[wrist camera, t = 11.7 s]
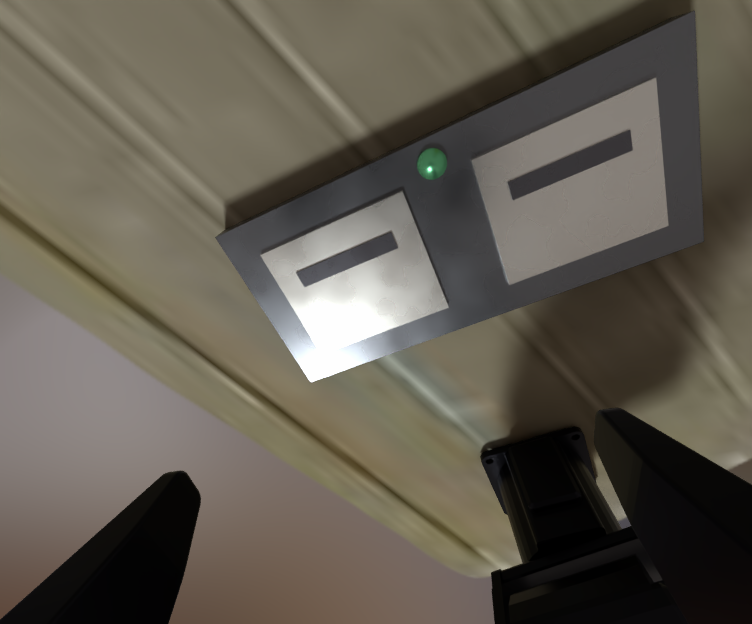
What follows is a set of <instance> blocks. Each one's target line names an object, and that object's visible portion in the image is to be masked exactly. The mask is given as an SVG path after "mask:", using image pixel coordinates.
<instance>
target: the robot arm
mask: <svg viewBox="0 0 752 624" xmlns="http://www.w3.org/2000/svg"><path fill="white" fill-rule="evenodd" d="M594 443H595V447H596V450H597V452H598V455H599V457H600V459H601V461H602V463H603V466H604V468H605V470H606V472H607V474H608V477H609V479H610V481H611V483H612V485H613V487H614V490H615V492H616V494H617V496H618V498H619V501H620V503H621V505H622V507H623V509H624V511H625V514H626V516H627V518H628V520H629V522H630V524H631V526H630V527H627V528H624V529H622V528H621V526H620V524H619V523H618V521H617V519H616V517H615V516H614V514H613V512H612V510H611V509H610V507H609V505H608V503H607V502H606V500H605V498H604V496H603V495H602V493H601V491H600V489H599V488H598V486H597V484H596V480H595V476H594V472H593V468H592V464H591V461H590V457H589V453H588V449H587V445H586V441H585V437H584V434H583V433H582V431H581V429H580V428H578V427H570V428H567V429H563V430H560V431H556V432H553V433H549V434H546V435H542V436H539V437H535V438H532V439H528V440H525V441H521V442H518V443H514V444H511V445H507V446H504V447H500V448H497V449H493V450H490V451H486V452H484V453H482V454H481V456H480V458H481V462H482V465H483V467H484V469H485V471H486V474H487V476H488V478H489V480H490V482H491V485H492V487H493V489H494V491H495V493H496V496H497V498H498V500H499V502H500V505H501V507H502V509H503V511H504V513H505V514H507V515H508V517H509V521H510V524H511V527H512V530H513V533H514V537H515V540H516V543H517V546H518V550H519V553H520V556H521V559H522V562H523V564H520V565H517V566H514V567H511V568H508V569H505V570H501V569H499V570H496V571H493V572H491V577H492V598H493V609H494V620H495V624H752V485H751V484H750V483H748V482H746V481H745V480H743V479H741V478H740V477H738V476H736V475H734V474H733V473H731V472H729V471H728V470H726V469H724V468H722V467H721V466H719V465H717V464H716V463H714V462H712V461H710V460H709V459H707V458H705V457H704V456H702V455H700V454H698V453H697V452H695V451H693V450H692V449H690V448H688V447H686V446H685V445H683V444H681V443H680V442H678V441H676V440H675V439H673V438H671V437H669V436H668V435H666V434H664V433H663V432H661V431H659V430H657V429H656V428H654V427H652V426H651V425H649V424H647V423H645V422H644V421H642V420H640V419H639V418H637V417H635V416H633V415H632V414H630V413H628V412H627V411H625V410H623V409H621V408H610V409H603V410H599V411H598V412H597V413H596V418H595V431H594ZM200 503H201V497H200V493H199V491H198V489H197V488H196V486H195V485H194V483H193V482H192V480H191V479H190V477H189V476H188V474H187V473H186V472H184V471H175V472H168V473H165V474H163V475H162V476H161V477H160V478H159V479H158V480H156V481H155V482H154V483H153V484H152V485H151V486H150V487H149V488H147V489H146V490H145V491H144V492H143V493H142V494H141V495H140V496H138V497H137V498H136V499H135V500H134V501H133V502H132V503H131V504H130V505H128V506H127V507H126V508H125V509H124V510H123V511H122V512H120V513H119V514H118V515H117V516H116V517H115V518H114V519H113V520H112V521H110V522H109V523H108V524H107V525H106V526H105V527H104V528H103V529H101V530H100V531H99V532H98V533H97V534H96V535H95V536H94V537H92V538H91V539H90V540H89V541H88V542H87V543H86V544H85V545H83V547H81V548H80V549H79V550H78V551H77V552H76V553H74V554H73V555H72V556H71V557H70V558H69V559H68V560H67V561H66V562H64V563H63V564H62V565H61V566H60V567H59V568H58V569H56V570H55V571H54V572H53V573H52V574H51V575H50V576H49V577H47V579H45V580H44V581H43V582H42V583H41V584H40V585H39V586H37V587H36V588H35V589H34V590H33V591H32V592H31V593H30V594H28V595H27V596H26V597H25V598H24V599H23V600H22V601H21V602H19V603H18V604H17V605H16V606H15V607H14V608H13V609H12V610H11V611H9V612H8V613H7V614H6V615H5V616H4V617H3V618H1V619H0V624H168V623H169V620H170V617H171V614H172V611H173V608H174V605H175V602H176V599H177V595H178V592H179V589H180V586H181V583H182V579H183V576H184V572H185V568H186V564H187V560H188V555H189V552H190V547H191V542H192V538H193V534H194V530H195V526H196V521H197V517H198V512H199V508H200Z"/></svg>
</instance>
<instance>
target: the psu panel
mask: <svg viewBox="0 0 752 624" xmlns="http://www.w3.org/2000/svg"><path fill="white" fill-rule="evenodd" d="M215 238H216V239H217V241H218V242H219V244H220V245H221V247H222V248H223V250H224V252H225V253H226V255H227V256H228V258H229V259H230V261H231V262H232V264H233V265H234V267H235V268H236V270H237V271H238V273H239V274H240V276H241V277H242V279H243V280H244V282H245V283H246V285H247V286H248V288H249V289H250V291H251V292H252V294H253V295H254V297H255V299H256V300H257V302H258V303H259V305H260V306H261V308H262V309H263V311H264V312H265V314H266V315H267V317H268V318H269V320H270V321H271V323H272V324H273V326H274V327H275V329H276V330H277V332H278V333H279V335H280V336H281V338H282V339H283V341H284V342H285V344H286V346H287V347H288V349H289V350H290V352H291V353H292V355H293V356H294V358H295V359H296V361H297V362H298V364H299V365H300V367H301V368H302V370H303V371H304V373H305V374H306V376H307V377H308V379H309V380H310V382H313V381H316V380H319V379H321V378H324V377H327V376H330V375H333V374H335V373H338V372H341V371H344V370H347V369H349V368H352V367H355V366H358V365H361V364H363V363H366V362H369V361H372V360H375V359H377V358H380V357H383V356H386V355H388V354H391V353H394V352H397V351H400V350H402V349H405V348H408V347H411V346H414V345H416V344H419V343H422V342H425V341H428V340H430V339H433V338H436V337H439V336H442V335H444V334H447V333H450V332H453V331H456V330H458V329H461V328H464V327H467V326H470V325H472V324H475V323H478V322H481V321H483V320H486V319H489V318H492V317H495V316H497V315H500V314H503V313H506V312H509V311H511V310H514V309H517V308H520V307H523V306H525V305H528V304H531V303H534V302H537V301H539V300H542V299H545V298H548V297H551V296H553V295H556V294H559V293H562V292H565V291H567V290H570V289H573V288H576V287H578V286H581V285H584V284H587V283H590V282H592V281H595V280H598V279H601V278H604V277H606V276H609V275H612V274H615V273H618V272H620V271H623V270H626V269H629V268H632V267H634V266H637V265H640V264H643V263H646V262H648V261H651V260H654V259H657V258H660V257H662V256H665V255H668V254H671V253H673V252H676V251H679V250H682V249H685V248H687V247H690V246H693V245H696V244H699V243H701V242H704V230H703V205H702V179H701V154H700V128H699V103H698V78H697V52H696V27H695V11H692V12H689V13H686V14H682V15H679V16H676V17H673V18H670V19H668V20H666V21H664V22H662V23H660V24H657V25H655V26H653V27H651V28H649V29H647V30H645V31H643V32H641V33H638V34H636V35H634V36H632V37H630V38H628V39H626V40H624V41H622V42H620V43H617V44H615V45H613V46H611V47H609V48H607V49H605V50H603V51H601V52H598V53H596V54H594V55H592V56H590V57H588V58H586V59H584V60H582V61H580V62H577V63H575V64H573V65H571V66H569V67H567V68H565V69H563V70H561V71H558V72H556V73H554V74H552V75H550V76H548V77H546V78H544V79H542V80H540V81H537V82H535V83H533V84H531V85H529V86H527V87H525V88H523V89H521V90H518V91H516V92H514V93H512V94H510V95H508V96H506V97H504V98H502V99H500V100H497V101H495V102H493V103H491V104H489V105H487V106H485V107H483V108H481V109H478V110H476V111H474V112H472V113H470V114H468V115H466V116H464V117H462V118H460V119H457V120H455V121H453V122H451V123H449V124H447V125H445V126H443V127H441V128H438V129H436V130H434V131H432V132H430V133H428V134H426V135H424V136H422V137H419V138H417V139H415V140H413V141H411V142H409V143H407V144H405V145H403V146H401V147H398V148H396V149H394V150H392V151H390V152H388V153H386V154H384V155H382V156H379V157H377V158H375V159H373V160H371V161H369V162H367V163H365V164H363V165H361V166H358V167H356V168H354V169H352V170H350V171H348V172H346V173H344V174H342V175H339V176H337V177H335V178H333V179H331V180H329V181H327V182H325V183H323V184H321V185H318V186H316V187H314V188H312V189H310V190H308V191H306V192H304V193H302V194H299V195H297V196H295V197H293V198H291V199H289V200H287V201H285V202H283V203H281V204H278V205H276V206H274V207H272V208H270V209H268V210H266V211H264V212H262V213H259V214H257V215H255V216H253V217H251V218H249V219H247V220H245V221H243V222H241V223H238V224H236V225H234V226H232V227H230V228H228V229H226V230H224V231H223V232H222V233H220V234H219V235H218V236H217V237H215Z"/></svg>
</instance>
